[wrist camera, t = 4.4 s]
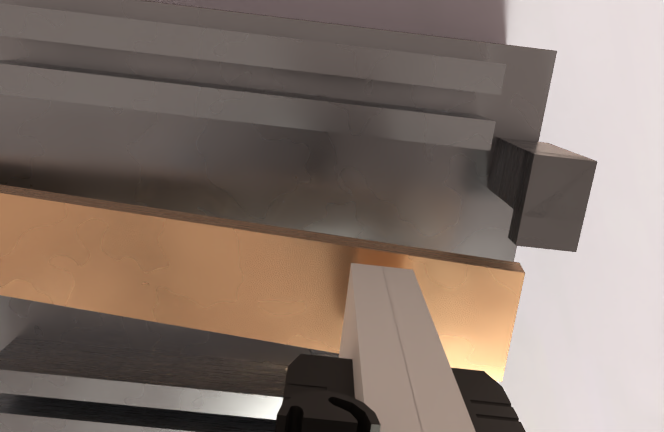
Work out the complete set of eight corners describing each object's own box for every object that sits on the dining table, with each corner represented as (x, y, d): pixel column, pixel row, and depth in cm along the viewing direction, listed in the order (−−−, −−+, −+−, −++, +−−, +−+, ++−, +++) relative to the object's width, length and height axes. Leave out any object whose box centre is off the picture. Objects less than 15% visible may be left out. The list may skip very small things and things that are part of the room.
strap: (-115, 264, 18) (-170, 284, 17) (-125, 151, 17) (-184, 159, 16) (493, 367, 16) (502, 402, 15) (518, 246, 15) (531, 268, 14)
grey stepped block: (-29, 334, 25) (-201, 466, 17) (-45, -14, 21) (-275, -60, 13) (452, 382, 26) (510, 532, 17) (514, 53, 22) (623, 49, 14)
